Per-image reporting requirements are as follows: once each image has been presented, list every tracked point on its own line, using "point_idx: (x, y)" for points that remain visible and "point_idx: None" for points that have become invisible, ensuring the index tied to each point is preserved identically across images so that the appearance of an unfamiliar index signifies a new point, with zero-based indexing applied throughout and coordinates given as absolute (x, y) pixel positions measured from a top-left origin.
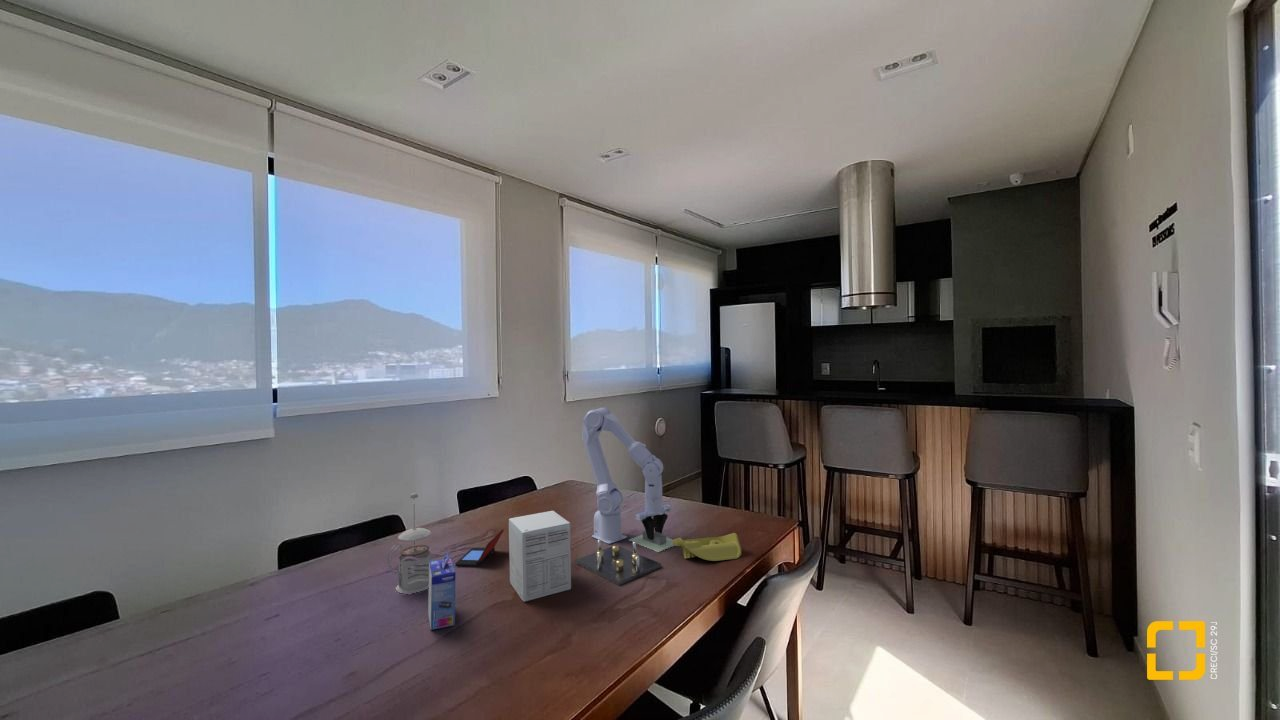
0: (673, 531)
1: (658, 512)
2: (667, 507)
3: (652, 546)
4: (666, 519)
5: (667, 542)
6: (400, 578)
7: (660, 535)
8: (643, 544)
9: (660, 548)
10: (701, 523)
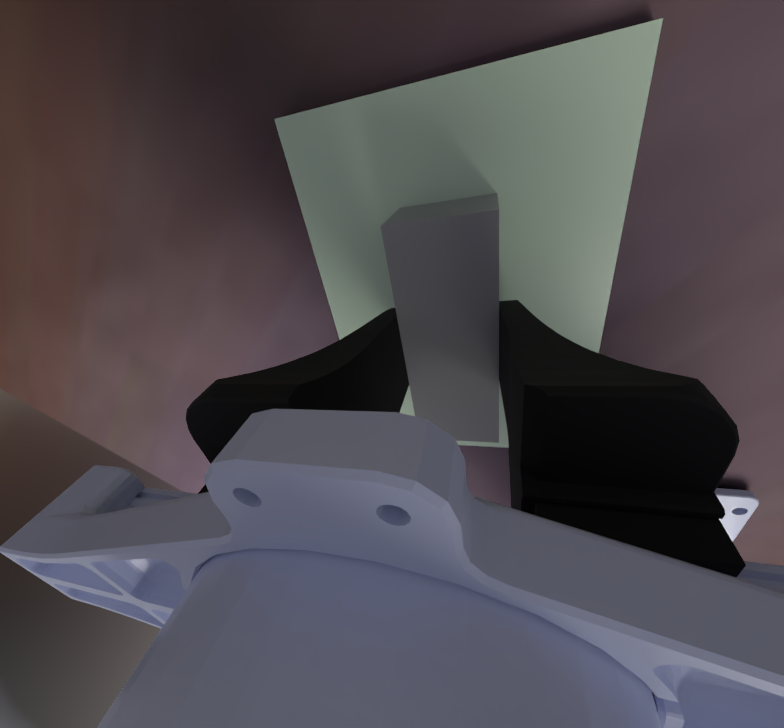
0: (234, 365)
1: (455, 557)
2: (68, 551)
3: (577, 220)
4: (252, 373)
5: (385, 209)
6: None
7: (439, 264)
8: (593, 318)
9: (565, 98)
10: (44, 345)
